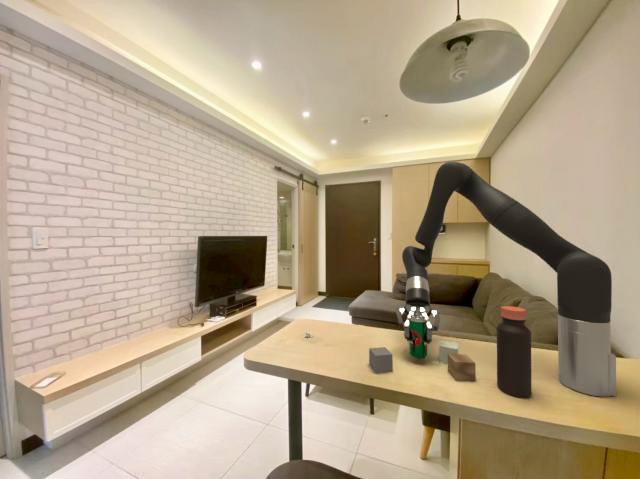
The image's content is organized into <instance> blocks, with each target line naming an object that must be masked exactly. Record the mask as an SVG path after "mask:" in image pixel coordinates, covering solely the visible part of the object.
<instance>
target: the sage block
mask: <svg viewBox="0 0 640 479" xmlns="http://www.w3.org/2000/svg"><path fill="white" fill-rule="evenodd" d="M448 354H459V343H458V342H454V341H453V342H452V341H447V340H442V339H441V340H440V341H439V344H438V360H439V361H438V363H441V364H447V365H448Z"/></svg>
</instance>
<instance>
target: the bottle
mask: <svg viewBox="0 0 640 479" xmlns="http://www.w3.org/2000/svg"><path fill="white" fill-rule="evenodd" d="M500 315H501V316H500V318H501V319H502V321H501V322H500V323H499V324H498V325H497V326H496V385H497V388H498V389H499V390H500V391H502V392H503V393H505V394H507V395H509V396H512V397H515V398H521V399H523V398H524V399H525V398H530V397H532V393H533V392H532V331H531V330H530V329H529V328H528V327H527V326H526V324H525V322H526V320H527V310H526V309H525V308H523V307H519V306H512V305H511V306H509V305H505V306H503V305H502V306H501V307H500Z"/></svg>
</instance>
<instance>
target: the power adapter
mask: <svg viewBox="0 0 640 479" xmlns="http://www.w3.org/2000/svg"><path fill="white" fill-rule="evenodd" d="M311 336H312V337H311ZM305 337H307V338H308V337H310V338H314V336H313V334H311V330H310V329H306V330H305V335H304V338H305Z"/></svg>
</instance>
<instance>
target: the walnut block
mask: <svg viewBox="0 0 640 479" xmlns="http://www.w3.org/2000/svg"><path fill="white" fill-rule="evenodd" d="M447 372H448V374H449V375H450V376H451V377H452V379H453V380H454V381H455V382H469V383H470V382H473V383H475V382H476V362H475V361H474V360H473V359H472V358H471V357H470V356H469V355H468V354H465V353H461V354H460V353H458V354H448V364H447Z"/></svg>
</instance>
